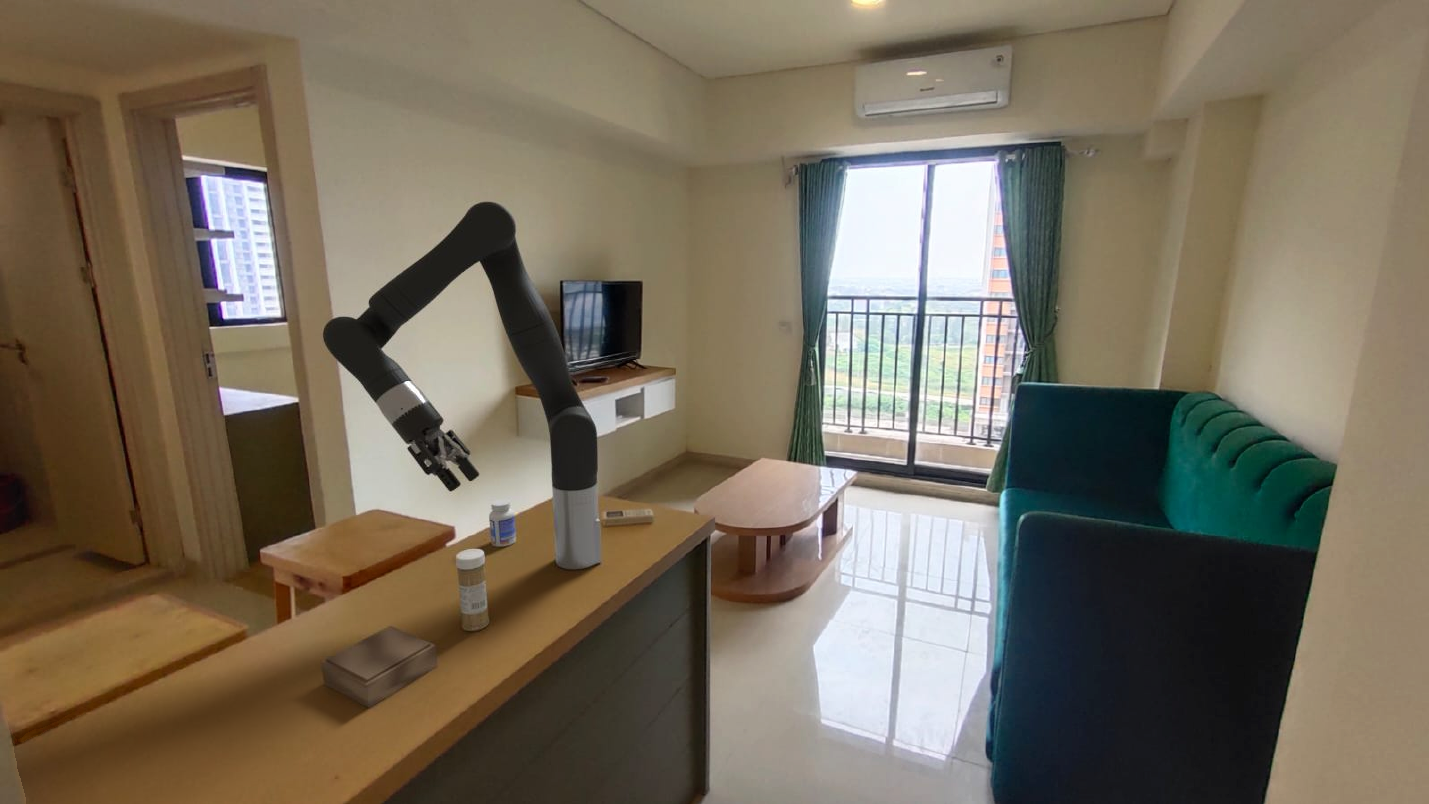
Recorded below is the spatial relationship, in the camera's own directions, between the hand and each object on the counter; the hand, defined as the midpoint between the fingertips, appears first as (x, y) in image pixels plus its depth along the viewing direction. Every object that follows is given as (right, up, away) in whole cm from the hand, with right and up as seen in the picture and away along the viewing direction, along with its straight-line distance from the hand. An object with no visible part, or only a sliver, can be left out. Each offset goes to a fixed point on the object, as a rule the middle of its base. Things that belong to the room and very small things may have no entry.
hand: (466, 483), depth 112 cm
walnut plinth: (-5, -27, -19) cm, 33 cm away
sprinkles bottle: (+4, -24, -5) cm, 25 cm away
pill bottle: (-3, -18, +29) cm, 34 cm away
